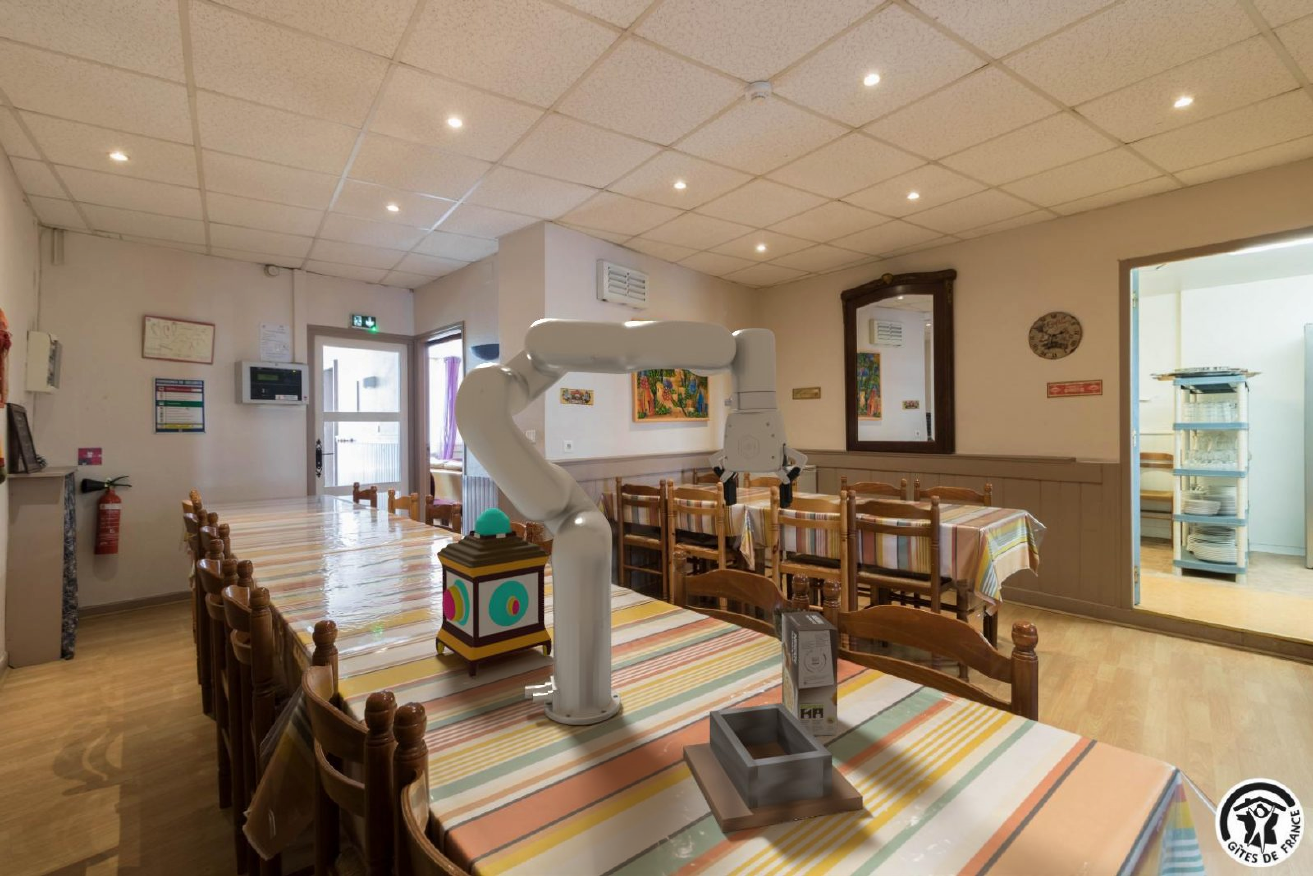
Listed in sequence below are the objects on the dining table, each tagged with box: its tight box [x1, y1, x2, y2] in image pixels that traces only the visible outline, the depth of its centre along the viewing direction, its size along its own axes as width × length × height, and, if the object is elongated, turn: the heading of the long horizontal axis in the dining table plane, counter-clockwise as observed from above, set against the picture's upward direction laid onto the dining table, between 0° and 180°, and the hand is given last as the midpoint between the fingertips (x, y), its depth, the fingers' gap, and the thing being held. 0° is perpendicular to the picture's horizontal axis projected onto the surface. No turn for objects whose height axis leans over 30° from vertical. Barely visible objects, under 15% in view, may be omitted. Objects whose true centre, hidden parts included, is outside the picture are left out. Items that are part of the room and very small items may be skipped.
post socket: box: [682, 702, 864, 833], centre depth 77 cm, size 18×16×6 cm
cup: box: [772, 606, 807, 647], centre depth 123 cm, size 8×7×8 cm
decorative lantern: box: [435, 507, 553, 679], centre depth 120 cm, size 20×20×30 cm
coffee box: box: [781, 611, 839, 737], centre depth 93 cm, size 9×6×16 cm
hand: (757, 506), depth 99 cm, fingers open, 9 cm apart
